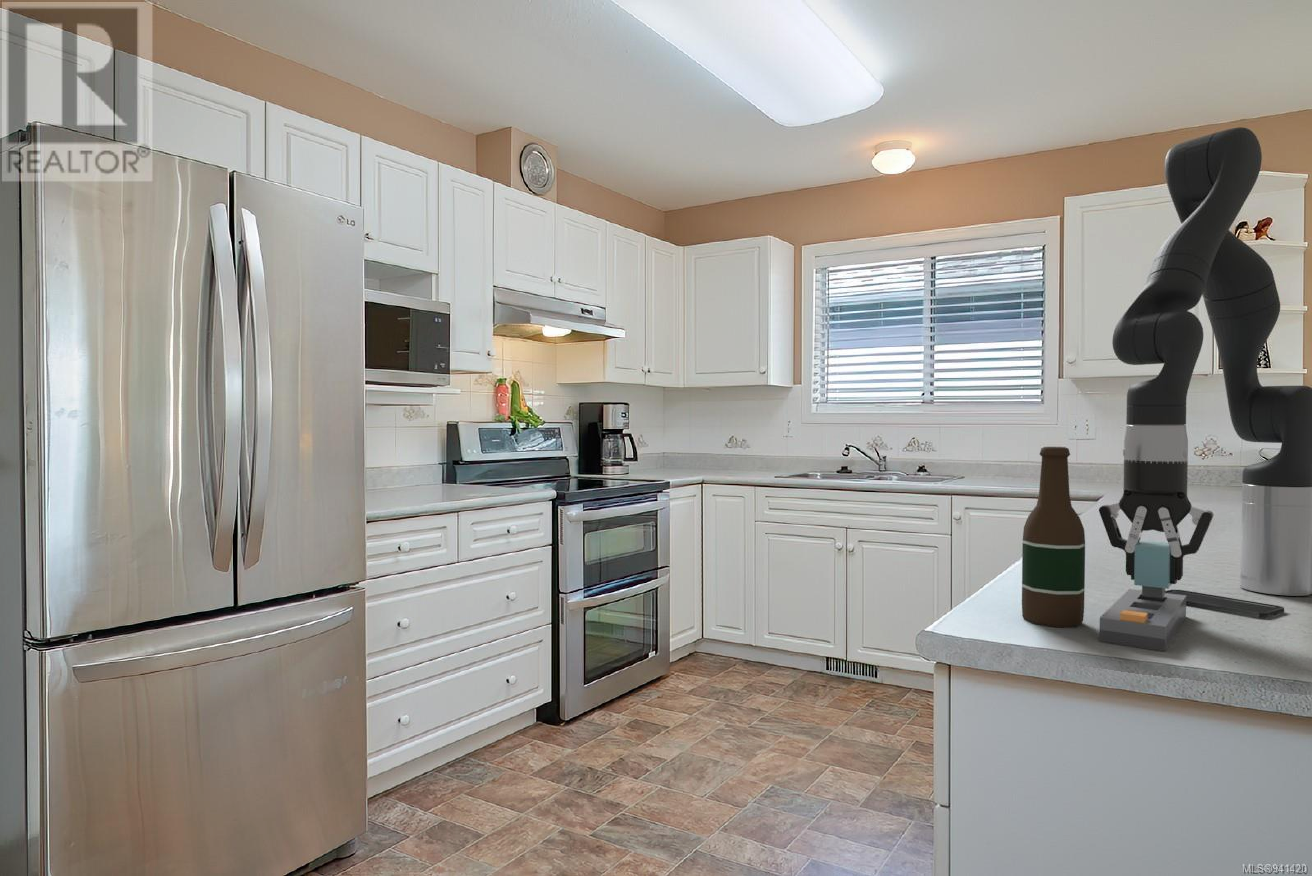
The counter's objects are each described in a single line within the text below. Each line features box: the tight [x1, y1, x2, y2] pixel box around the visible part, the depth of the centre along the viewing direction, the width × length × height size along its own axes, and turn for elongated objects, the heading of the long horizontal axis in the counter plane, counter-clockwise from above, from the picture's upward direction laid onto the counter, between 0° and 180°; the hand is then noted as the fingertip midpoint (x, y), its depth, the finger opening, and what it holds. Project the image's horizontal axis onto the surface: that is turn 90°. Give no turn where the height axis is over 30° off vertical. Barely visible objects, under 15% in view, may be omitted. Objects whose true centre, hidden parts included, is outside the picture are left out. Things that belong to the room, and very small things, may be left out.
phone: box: [1165, 588, 1285, 620], centre depth 121 cm, size 8×1×15 cm
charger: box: [1133, 540, 1173, 598], centre depth 112 cm, size 5×4×7 cm
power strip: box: [1098, 588, 1187, 652], centre depth 107 cm, size 22×7×4 cm, turn 141°
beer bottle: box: [1021, 446, 1086, 628], centre depth 111 cm, size 8×8×24 cm
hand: (1153, 580), depth 112 cm, fingers closed on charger, 4 cm apart
